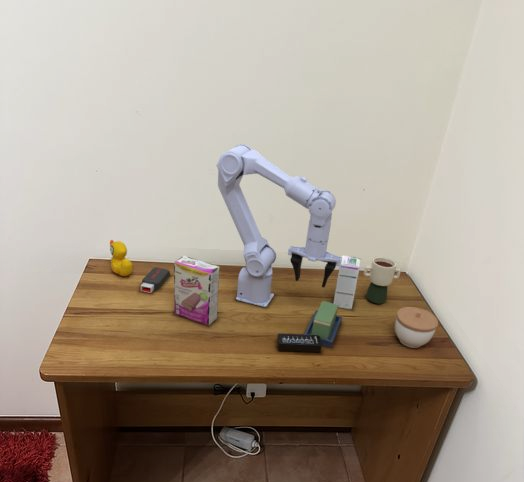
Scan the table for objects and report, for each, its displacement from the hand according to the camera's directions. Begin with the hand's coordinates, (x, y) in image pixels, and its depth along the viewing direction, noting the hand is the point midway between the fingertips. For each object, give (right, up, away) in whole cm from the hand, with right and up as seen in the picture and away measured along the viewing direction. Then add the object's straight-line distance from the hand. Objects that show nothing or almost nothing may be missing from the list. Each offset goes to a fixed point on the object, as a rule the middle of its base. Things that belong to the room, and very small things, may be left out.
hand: (310, 282), depth 137 cm
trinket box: (+27, -16, -4) cm, 32 cm away
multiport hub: (-4, -17, -11) cm, 21 cm away
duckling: (-57, +3, +15) cm, 59 cm away
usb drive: (-46, 0, +11) cm, 47 cm away
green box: (+3, -13, -4) cm, 14 cm away
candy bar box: (-32, -10, -3) cm, 33 cm away
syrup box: (+11, -6, +10) cm, 16 cm away
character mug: (+21, -5, +14) cm, 26 cm away
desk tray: (+3, -13, -3) cm, 14 cm away
